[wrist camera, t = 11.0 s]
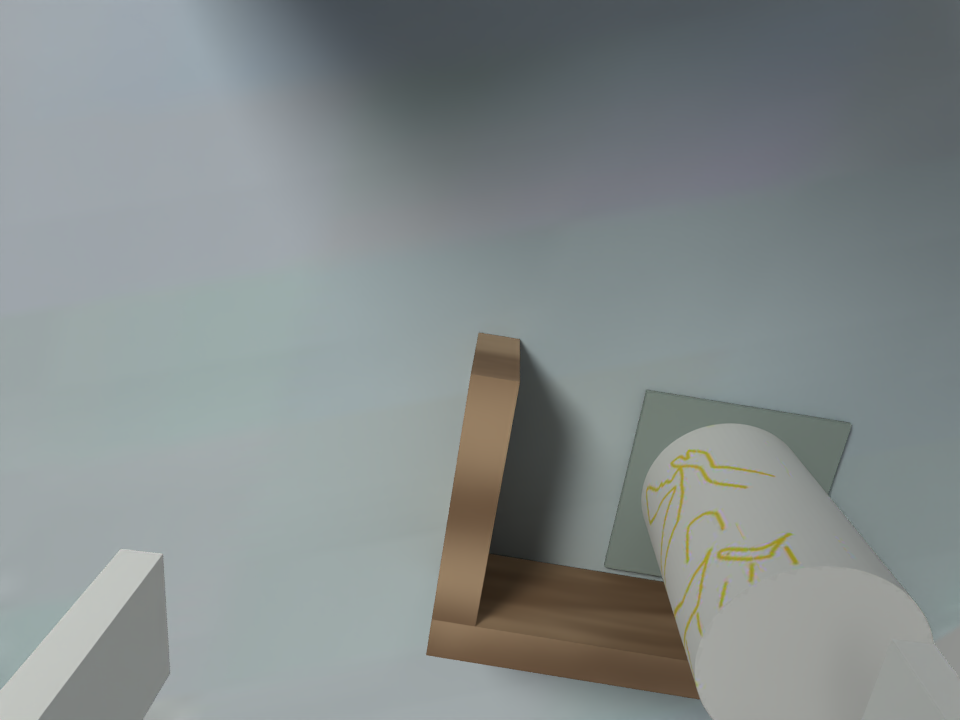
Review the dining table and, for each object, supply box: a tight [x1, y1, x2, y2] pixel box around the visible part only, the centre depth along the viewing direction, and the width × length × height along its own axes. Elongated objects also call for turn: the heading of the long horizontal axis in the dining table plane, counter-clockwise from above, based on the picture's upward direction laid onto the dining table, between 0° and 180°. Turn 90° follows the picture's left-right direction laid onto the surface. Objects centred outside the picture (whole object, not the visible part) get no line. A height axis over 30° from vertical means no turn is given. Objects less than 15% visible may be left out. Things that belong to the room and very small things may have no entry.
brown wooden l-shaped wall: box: [426, 333, 701, 700], centre depth 35 cm, size 14×20×6 cm
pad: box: [604, 390, 852, 577], centre depth 37 cm, size 10×10×1 cm
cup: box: [641, 423, 934, 720], centre depth 31 cm, size 8×8×12 cm
